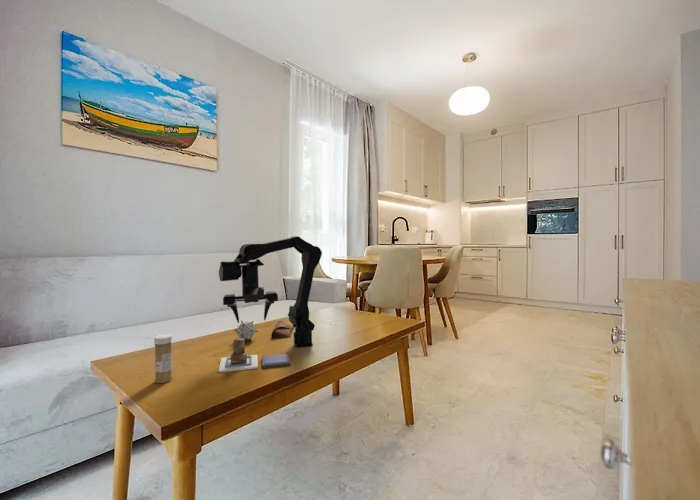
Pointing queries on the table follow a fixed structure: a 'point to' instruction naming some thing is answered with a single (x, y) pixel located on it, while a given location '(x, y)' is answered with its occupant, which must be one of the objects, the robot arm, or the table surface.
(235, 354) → the stamp
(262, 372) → the table surface
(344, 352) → the table surface
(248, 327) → the game die
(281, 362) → the ink pad
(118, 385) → the table surface
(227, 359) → the print card
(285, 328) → the sunglasses case
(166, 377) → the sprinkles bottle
